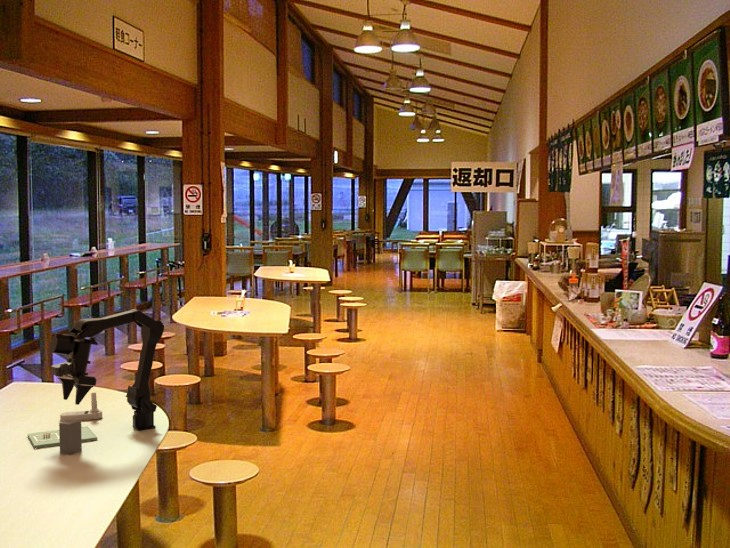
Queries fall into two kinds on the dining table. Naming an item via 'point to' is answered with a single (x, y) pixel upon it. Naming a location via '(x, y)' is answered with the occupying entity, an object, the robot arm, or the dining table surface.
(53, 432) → the board
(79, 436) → the plug block
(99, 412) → the beige bar with post
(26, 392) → the dining table surface
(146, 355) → the robot arm
